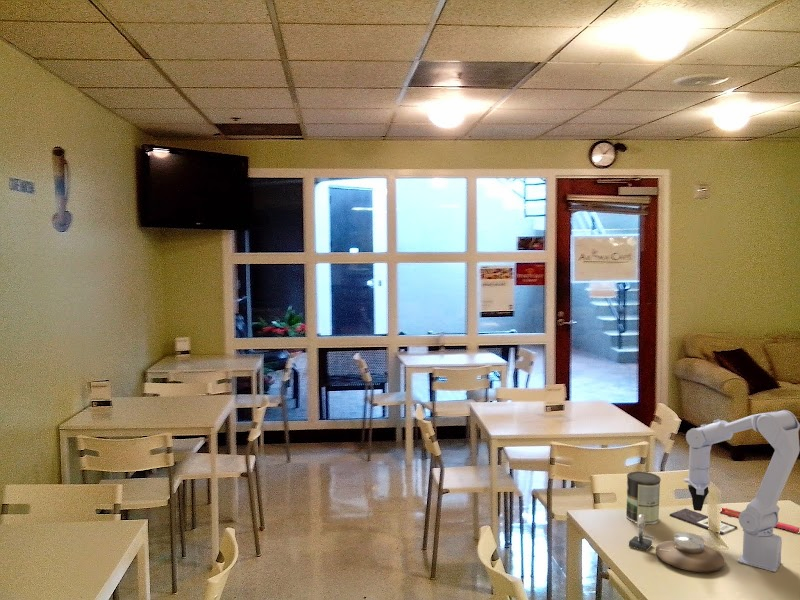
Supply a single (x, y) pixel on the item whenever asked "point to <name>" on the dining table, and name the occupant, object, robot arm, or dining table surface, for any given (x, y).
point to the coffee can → (643, 496)
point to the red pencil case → (779, 525)
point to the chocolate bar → (700, 520)
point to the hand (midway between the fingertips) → (697, 509)
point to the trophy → (641, 536)
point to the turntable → (690, 558)
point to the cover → (688, 543)
